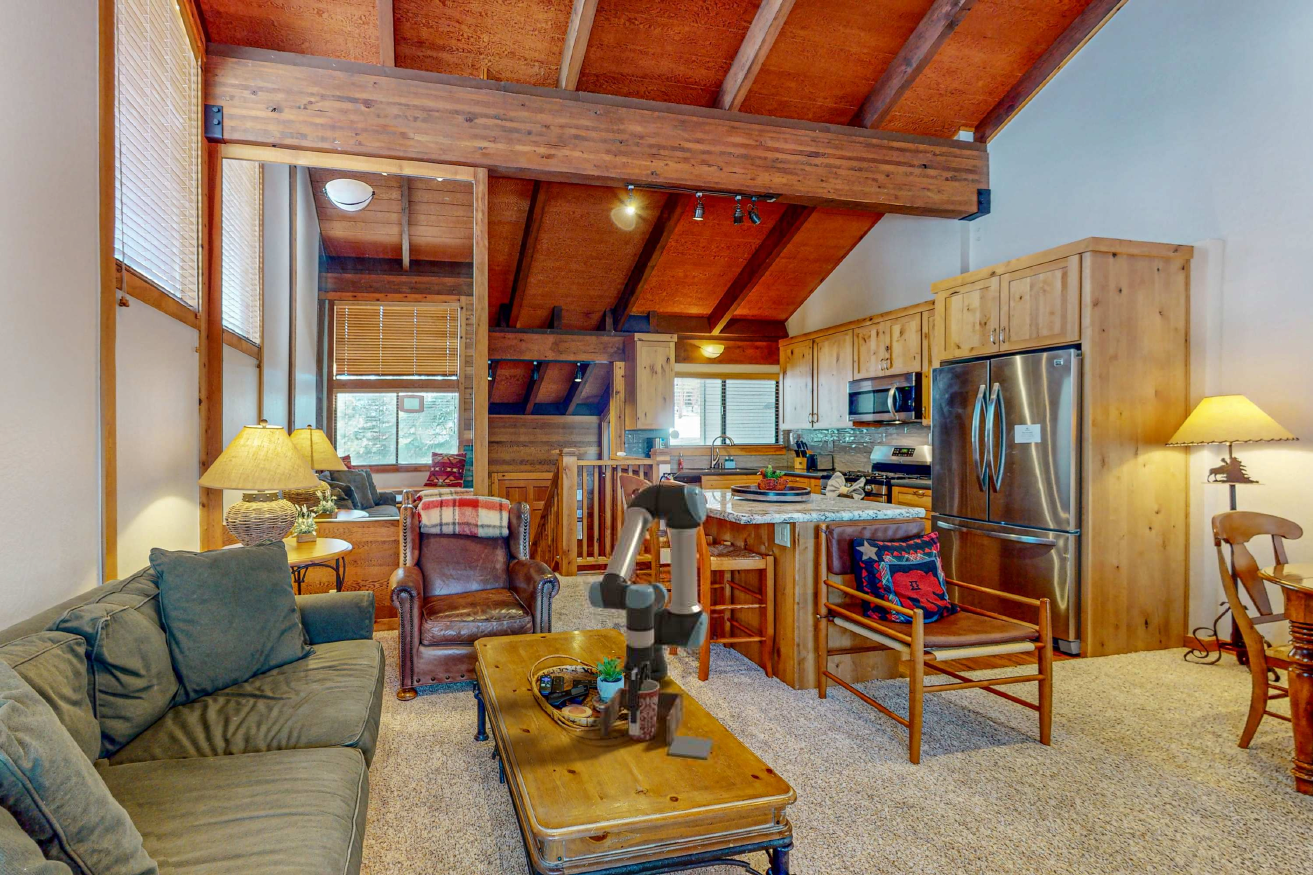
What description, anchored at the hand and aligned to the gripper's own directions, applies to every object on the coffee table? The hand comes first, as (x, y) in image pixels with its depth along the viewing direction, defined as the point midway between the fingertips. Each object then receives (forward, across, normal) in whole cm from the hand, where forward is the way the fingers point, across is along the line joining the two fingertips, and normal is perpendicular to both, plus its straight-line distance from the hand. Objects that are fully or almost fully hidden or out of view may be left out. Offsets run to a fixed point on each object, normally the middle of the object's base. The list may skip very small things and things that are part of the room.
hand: (639, 725), depth 185 cm
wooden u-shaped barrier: (+2, -4, 0) cm, 5 cm away
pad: (+2, +5, +15) cm, 16 cm away
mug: (+2, -1, 0) cm, 2 cm away
